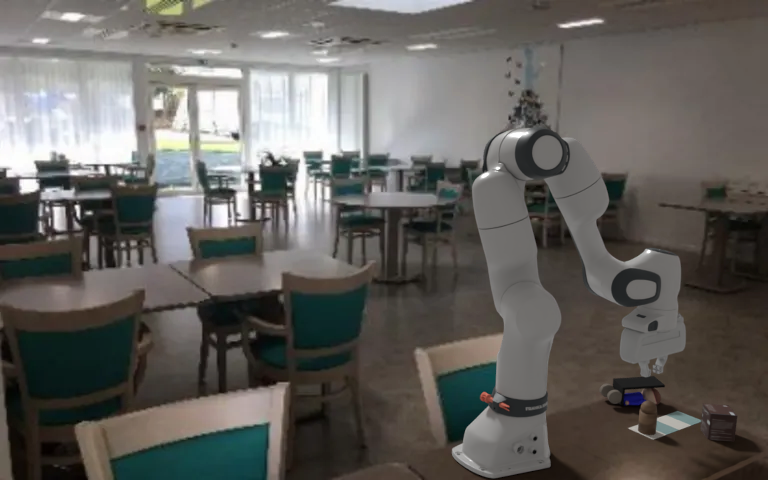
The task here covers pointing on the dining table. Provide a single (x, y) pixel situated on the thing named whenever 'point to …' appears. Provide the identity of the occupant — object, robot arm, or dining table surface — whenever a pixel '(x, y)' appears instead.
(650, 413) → the brown rounded cylinder
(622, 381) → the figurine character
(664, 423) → the board
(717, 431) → the box
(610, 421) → the dining table surface
